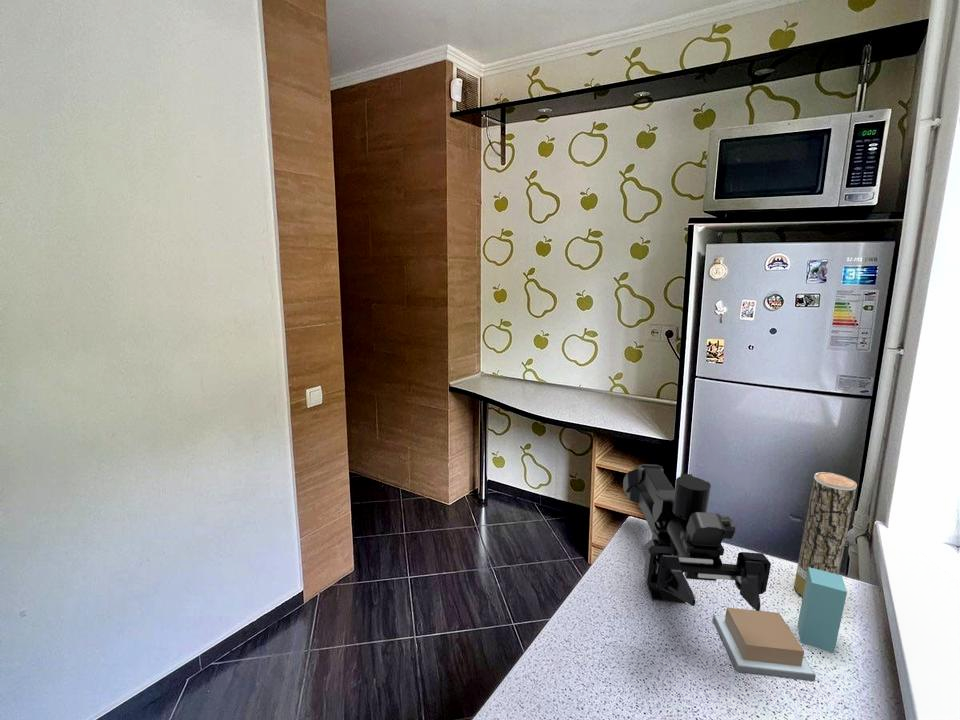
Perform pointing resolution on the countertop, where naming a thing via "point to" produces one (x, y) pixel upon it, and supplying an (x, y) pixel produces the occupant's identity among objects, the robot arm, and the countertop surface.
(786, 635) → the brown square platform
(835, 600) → the teal block
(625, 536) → the countertop surface
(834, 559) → the wooden log
